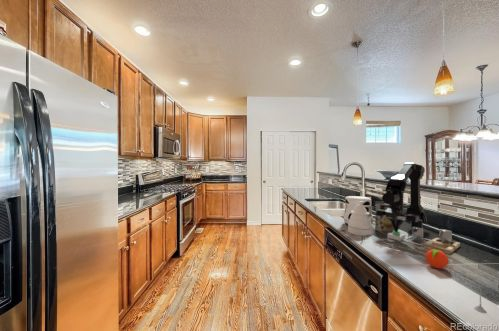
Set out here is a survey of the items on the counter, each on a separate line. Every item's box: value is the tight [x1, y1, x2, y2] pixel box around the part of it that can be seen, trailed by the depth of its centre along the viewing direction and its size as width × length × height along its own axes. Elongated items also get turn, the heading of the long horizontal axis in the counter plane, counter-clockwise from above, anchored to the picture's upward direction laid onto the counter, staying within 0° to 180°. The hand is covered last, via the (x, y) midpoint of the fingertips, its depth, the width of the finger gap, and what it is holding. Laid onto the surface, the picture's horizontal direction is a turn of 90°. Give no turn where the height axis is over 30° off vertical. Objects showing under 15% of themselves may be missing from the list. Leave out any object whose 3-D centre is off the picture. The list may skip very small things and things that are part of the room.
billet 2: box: [438, 228, 453, 245], centre depth 110 cm, size 5×5×7 cm
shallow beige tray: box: [423, 237, 461, 255], centre depth 107 cm, size 17×9×3 cm, turn 126°
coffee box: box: [374, 202, 395, 233], centre depth 136 cm, size 9×6×16 cm
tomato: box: [425, 249, 449, 269], centre depth 87 cm, size 8×7×7 cm
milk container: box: [343, 195, 374, 225], centre depth 148 cm, size 17×17×18 cm
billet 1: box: [411, 227, 424, 243], centre depth 116 cm, size 5×5×7 cm
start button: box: [393, 230, 401, 236], centre depth 120 cm, size 3×3×2 cm
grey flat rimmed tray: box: [401, 235, 432, 247], centre depth 116 cm, size 13×9×1 cm
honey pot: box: [347, 201, 373, 237], centre depth 132 cm, size 13×13×18 cm
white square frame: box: [387, 232, 406, 242], centre depth 120 cm, size 6×6×3 cm
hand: (396, 231), depth 120 cm, fingers closed, pressing on start button
